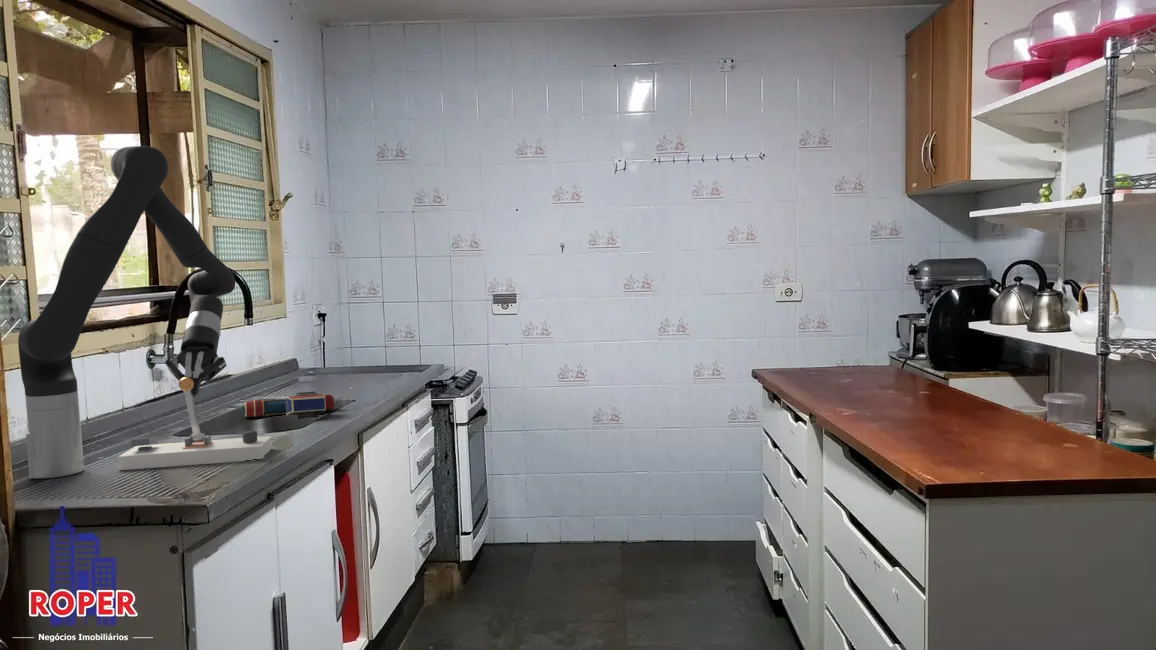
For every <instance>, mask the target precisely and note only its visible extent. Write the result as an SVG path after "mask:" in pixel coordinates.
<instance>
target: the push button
mask: <svg viewBox="0 0 1156 650" xmlns="http://www.w3.org/2000/svg"><path fill="white" fill-rule="evenodd" d="M257 437H258V432H257V430H248V431H246V430H245V431H243V432H242V438H243V442H254V441H257Z"/></svg>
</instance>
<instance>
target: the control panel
mask: <svg viewBox="0 0 1156 650" xmlns="http://www.w3.org/2000/svg"><path fill="white" fill-rule="evenodd" d="M211 435H212V434H209V435H207V434H206V435H205V437H204V442H197V443H192V442H191V436H186V437H185V438H184V441H183V442H170V443H168V442H167V443H157V444H155V445H143V446H133V447H132V448H130V449H129V450H127V451H125V452H124V453H122V454H120V455H118V457H117V459H118V470H119V471H127V470H128V471H129V470H142V469H153V468H157V469H158V468H169V467H181V466H194V465H207V464H209V465H210V464H220V463H224V464H225V463H236V462H246V461H245V460H250V459H254V458H262V457H263V456H264V455H265V454H266V453H268V452H269V451H270V450H271V449H272V450H273V439H272V436H271V435H270V436H268V435H267V436H257V441H254V442H243V437H242V438H241V437H240V438H238V437H237V438H228V439H227V438H225V439H212V437H211ZM272 450H271V451H272ZM271 451H270V452H271ZM270 452H269V453H270ZM269 453H268V454H269Z"/></svg>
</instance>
